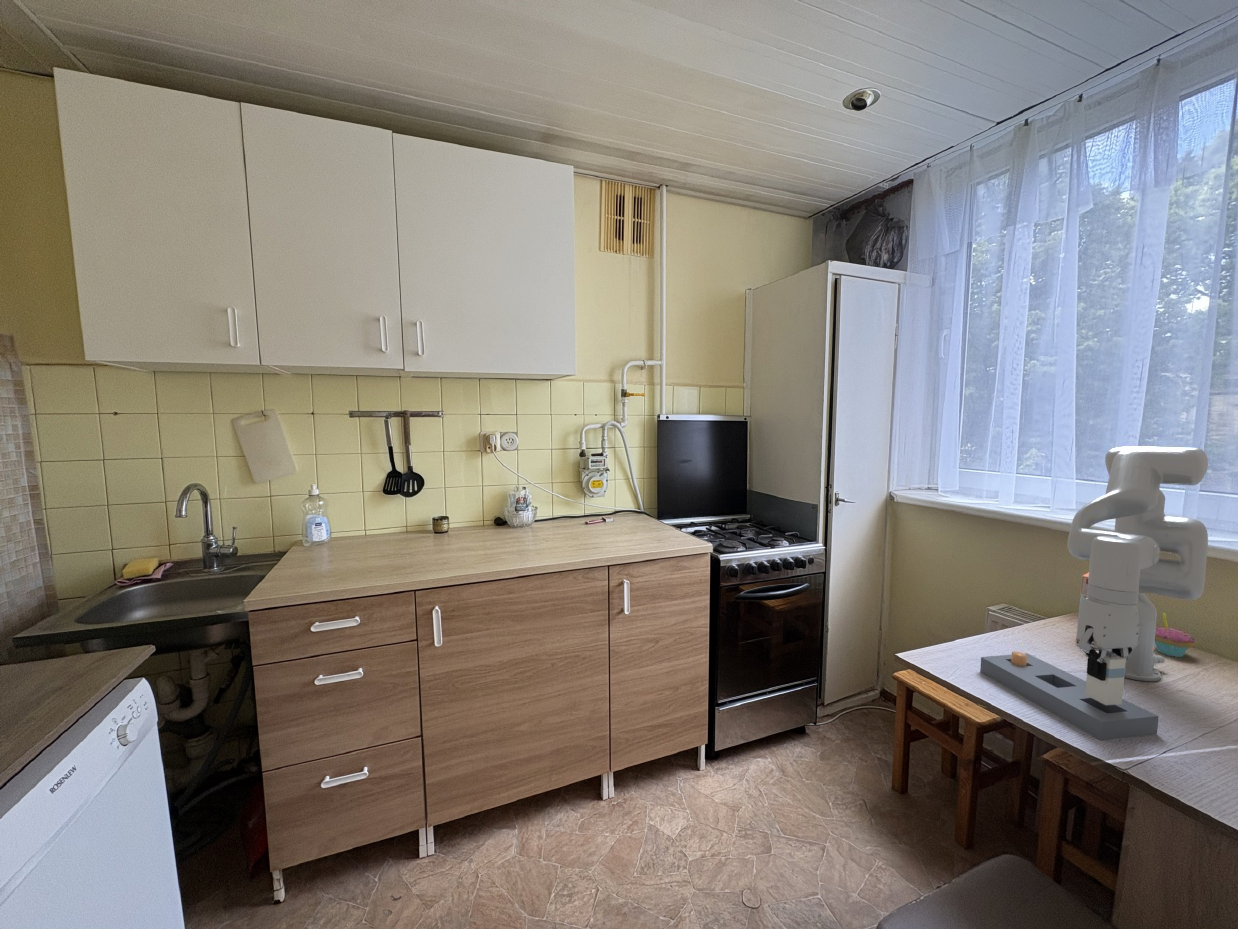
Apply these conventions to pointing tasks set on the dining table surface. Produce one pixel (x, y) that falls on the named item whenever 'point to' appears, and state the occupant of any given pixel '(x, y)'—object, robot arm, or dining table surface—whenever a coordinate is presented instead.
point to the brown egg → (1019, 659)
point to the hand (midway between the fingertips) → (1105, 675)
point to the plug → (1108, 681)
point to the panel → (1069, 698)
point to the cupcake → (1172, 640)
